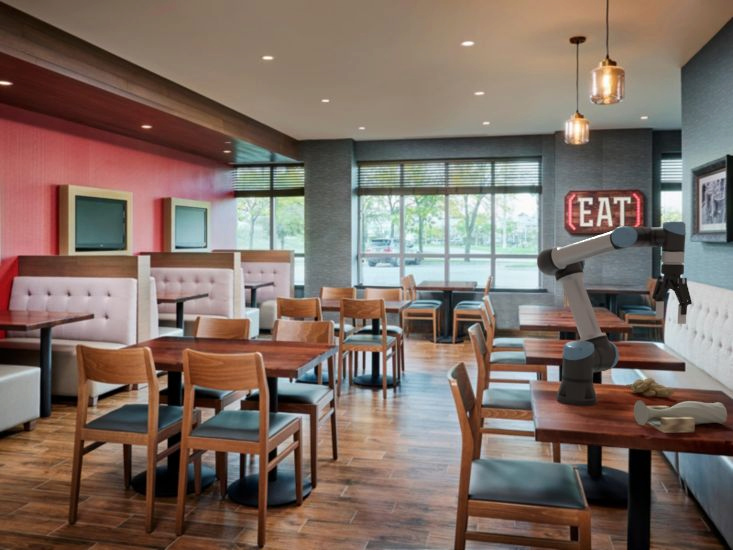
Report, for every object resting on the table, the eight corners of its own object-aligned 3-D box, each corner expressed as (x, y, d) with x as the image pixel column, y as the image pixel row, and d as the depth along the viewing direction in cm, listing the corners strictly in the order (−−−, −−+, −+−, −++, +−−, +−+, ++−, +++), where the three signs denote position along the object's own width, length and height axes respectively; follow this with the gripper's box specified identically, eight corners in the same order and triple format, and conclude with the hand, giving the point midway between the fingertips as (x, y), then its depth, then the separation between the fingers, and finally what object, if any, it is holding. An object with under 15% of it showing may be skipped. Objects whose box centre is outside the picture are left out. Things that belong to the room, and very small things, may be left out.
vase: (632, 400, 217) (710, 400, 220) (634, 424, 215) (712, 424, 219) (646, 400, 208) (727, 401, 212) (649, 425, 206) (729, 425, 210)
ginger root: (622, 385, 264) (628, 368, 263) (660, 396, 261) (666, 379, 260) (630, 396, 249) (636, 377, 248) (670, 407, 246) (676, 389, 245)
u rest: (663, 432, 204) (664, 419, 203) (637, 418, 219) (637, 406, 219) (694, 432, 205) (695, 418, 205) (665, 418, 221) (666, 405, 220)
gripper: (704, 265, 211) (701, 325, 212) (662, 262, 236) (659, 316, 237) (684, 265, 210) (681, 326, 211) (643, 262, 235) (641, 316, 236)
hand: (670, 321), depth 224 cm, fingers open, 13 cm apart
